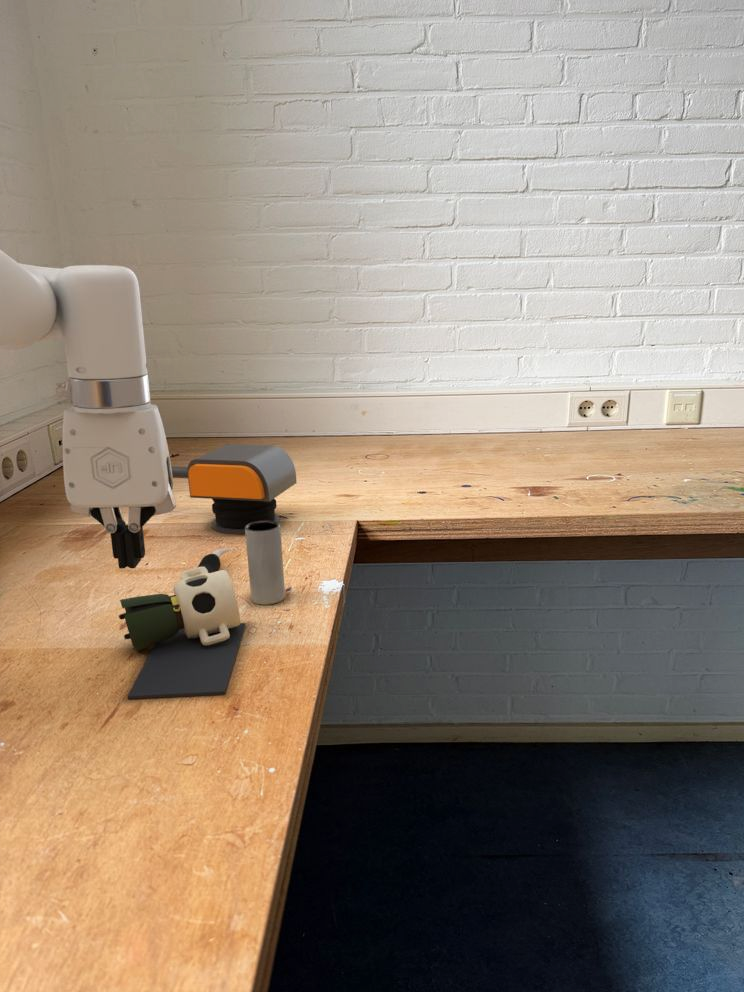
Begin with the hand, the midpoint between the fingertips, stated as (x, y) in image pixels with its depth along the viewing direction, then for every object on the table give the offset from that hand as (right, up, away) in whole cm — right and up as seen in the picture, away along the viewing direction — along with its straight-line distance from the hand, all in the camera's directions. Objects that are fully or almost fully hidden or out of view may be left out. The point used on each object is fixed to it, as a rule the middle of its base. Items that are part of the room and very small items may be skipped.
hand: (130, 563), depth 86 cm
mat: (+6, -11, +4) cm, 13 cm away
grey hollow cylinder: (+11, -5, +21) cm, 24 cm away
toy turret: (-3, +6, +54) cm, 54 cm away
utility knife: (+2, -4, +26) cm, 26 cm away
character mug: (-3, -8, +5) cm, 10 cm away
